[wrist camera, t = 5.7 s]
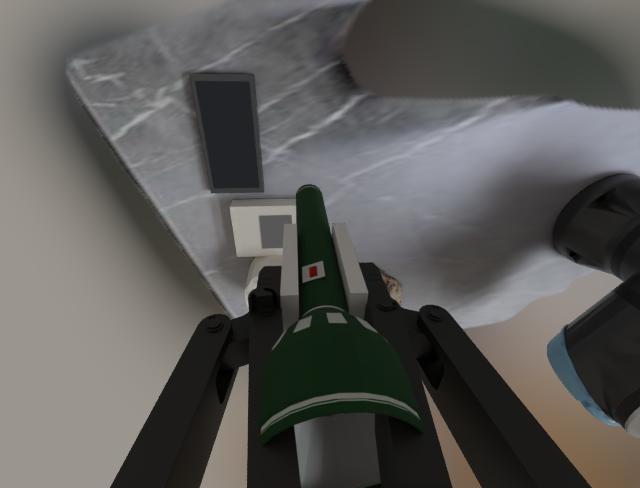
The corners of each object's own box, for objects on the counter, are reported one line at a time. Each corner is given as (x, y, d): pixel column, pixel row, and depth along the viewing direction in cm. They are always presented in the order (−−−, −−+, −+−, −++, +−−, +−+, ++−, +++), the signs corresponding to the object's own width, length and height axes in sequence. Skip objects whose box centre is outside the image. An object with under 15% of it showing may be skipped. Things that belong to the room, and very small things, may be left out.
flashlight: (329, 156, 24) (420, 385, 7) (345, 212, 27) (441, 479, 9) (269, 176, 24) (212, 439, 7) (290, 229, 27) (287, 514, 10)
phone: (254, 74, 35) (253, 74, 34) (264, 189, 42) (263, 192, 41) (191, 73, 34) (189, 73, 33) (212, 190, 41) (210, 193, 40)
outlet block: (317, 198, 43) (321, 217, 38) (316, 292, 52) (320, 319, 46) (232, 199, 42) (223, 220, 37) (246, 295, 51) (241, 323, 46)
